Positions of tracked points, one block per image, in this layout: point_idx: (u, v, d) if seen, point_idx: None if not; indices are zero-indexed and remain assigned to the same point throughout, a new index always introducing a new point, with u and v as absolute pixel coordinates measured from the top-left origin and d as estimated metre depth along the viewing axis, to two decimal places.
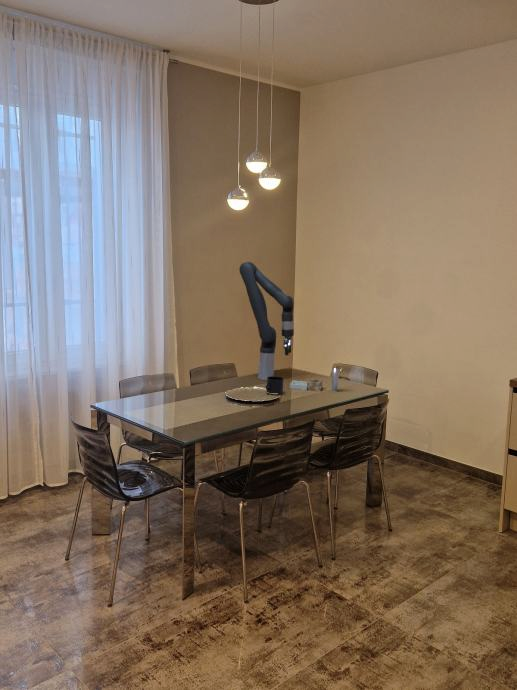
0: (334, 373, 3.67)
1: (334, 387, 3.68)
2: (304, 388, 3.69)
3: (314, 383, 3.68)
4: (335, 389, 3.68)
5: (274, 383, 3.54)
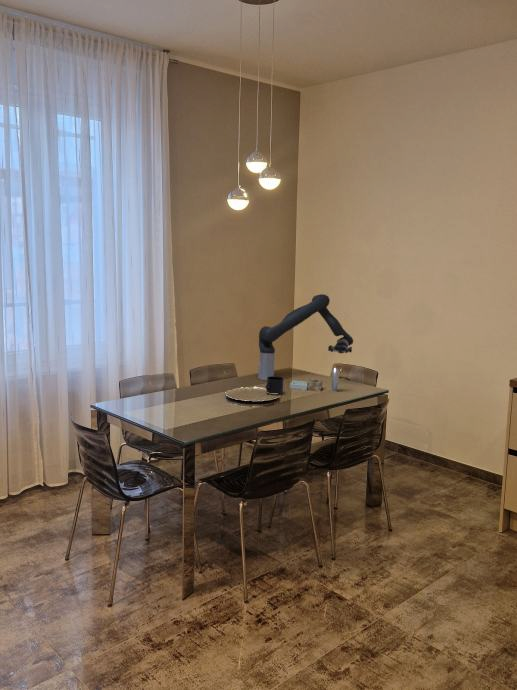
0: (334, 373, 3.67)
1: (334, 387, 3.68)
2: (304, 388, 3.69)
3: (314, 383, 3.68)
4: (335, 389, 3.68)
5: (274, 383, 3.54)
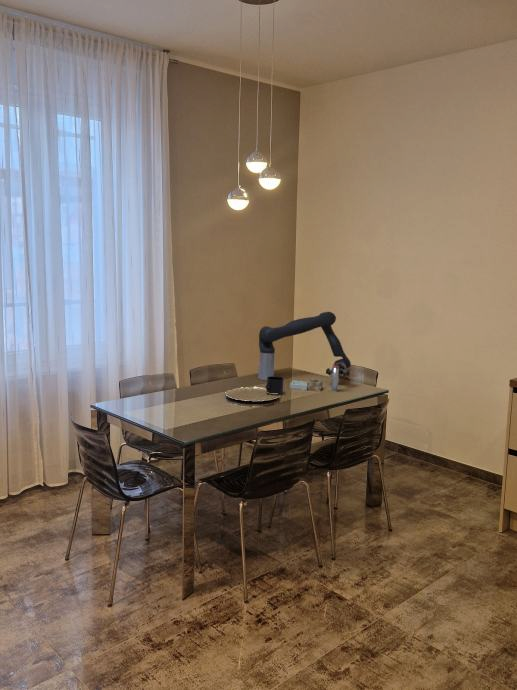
0: (334, 373, 3.67)
1: (334, 387, 3.68)
2: (304, 388, 3.69)
3: (314, 383, 3.68)
4: (335, 389, 3.68)
5: (274, 383, 3.54)
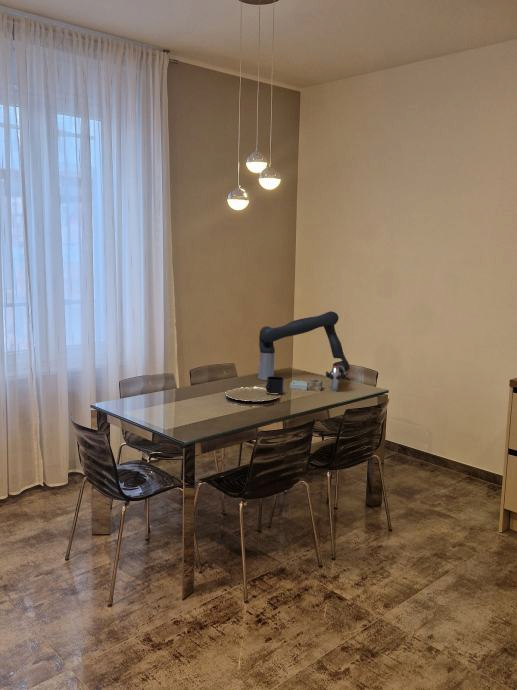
0: (334, 373, 3.67)
1: (334, 387, 3.68)
2: (304, 388, 3.69)
3: (314, 383, 3.68)
4: (335, 389, 3.68)
5: (274, 383, 3.54)
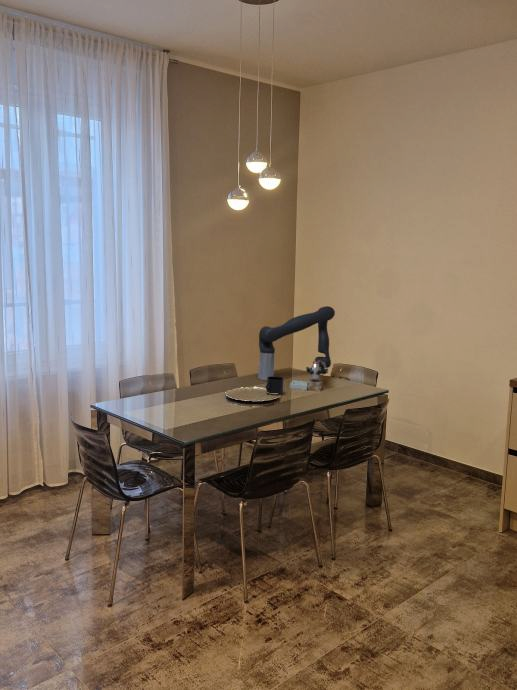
0: (314, 368, 3.69)
1: None
2: (304, 388, 3.69)
3: (314, 383, 3.68)
4: None
5: (274, 383, 3.54)
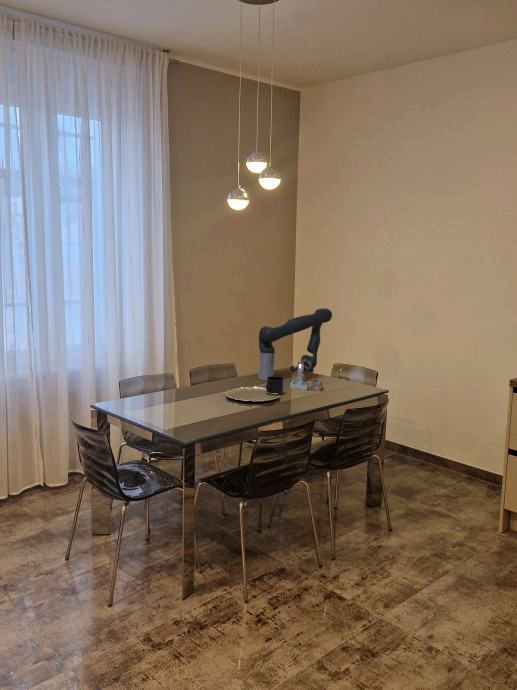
0: (299, 369, 3.72)
1: (299, 383, 3.73)
2: (304, 388, 3.69)
3: (314, 383, 3.68)
4: None
5: (274, 383, 3.54)
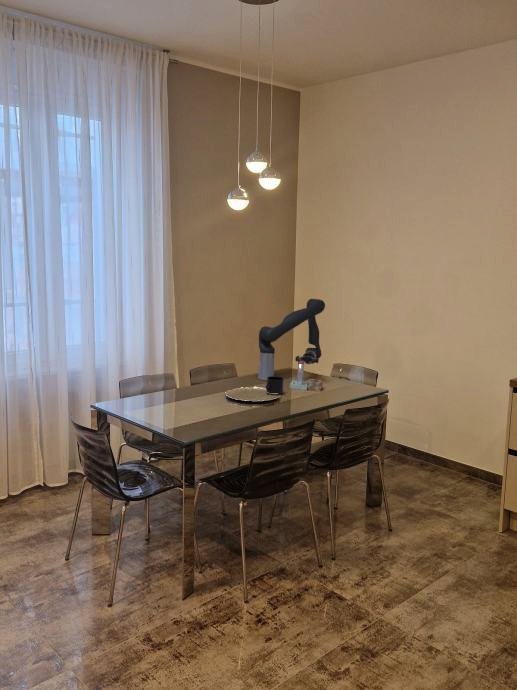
0: (299, 369, 3.72)
1: (299, 383, 3.73)
2: (304, 388, 3.69)
3: (314, 383, 3.68)
4: None
5: (274, 383, 3.54)
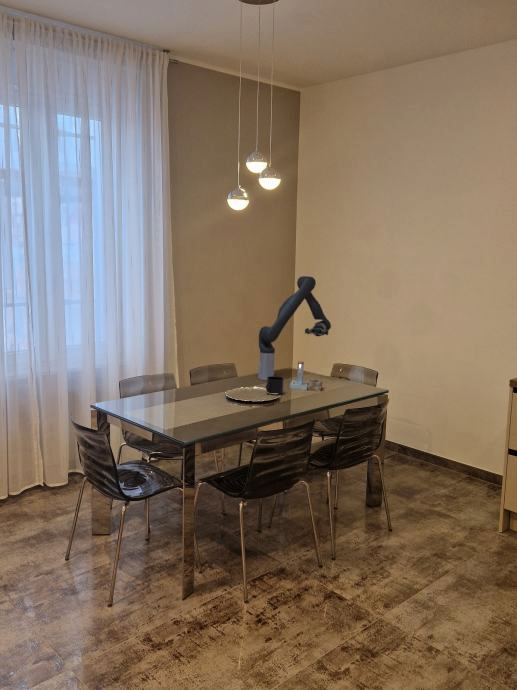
0: (299, 369, 3.72)
1: (299, 383, 3.73)
2: (304, 388, 3.69)
3: (314, 383, 3.68)
4: None
5: (274, 383, 3.54)
